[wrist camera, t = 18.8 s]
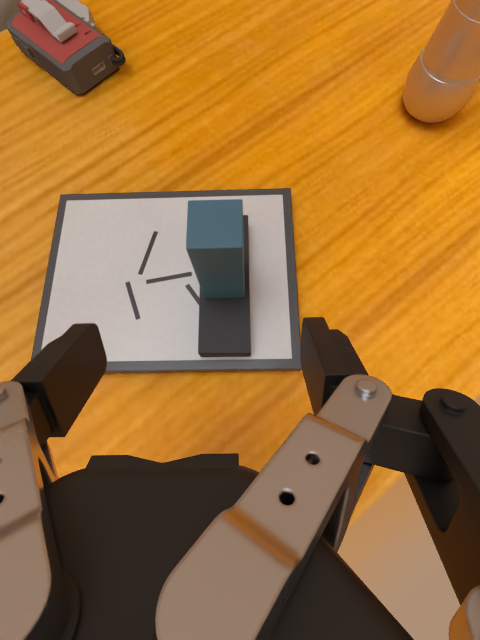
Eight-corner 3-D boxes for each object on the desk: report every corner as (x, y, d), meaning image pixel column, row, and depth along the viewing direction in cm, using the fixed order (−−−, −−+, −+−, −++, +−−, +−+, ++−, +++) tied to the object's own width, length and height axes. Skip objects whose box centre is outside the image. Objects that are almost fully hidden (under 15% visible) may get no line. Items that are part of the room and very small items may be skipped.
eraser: (250, 356, 25) (252, 324, 16) (200, 357, 26) (174, 325, 16) (248, 225, 29) (247, 138, 20) (203, 226, 29) (183, 140, 20)
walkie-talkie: (144, 61, 37) (40, -12, 41) (130, 15, 33) (16, -61, 37) (85, 105, 35) (-17, 24, 39) (62, 62, 31) (-49, -23, 35)
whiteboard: (300, 370, 26) (302, 368, 25) (37, 374, 27) (27, 372, 26) (289, 195, 31) (290, 187, 30) (66, 201, 32) (59, 193, 30)
